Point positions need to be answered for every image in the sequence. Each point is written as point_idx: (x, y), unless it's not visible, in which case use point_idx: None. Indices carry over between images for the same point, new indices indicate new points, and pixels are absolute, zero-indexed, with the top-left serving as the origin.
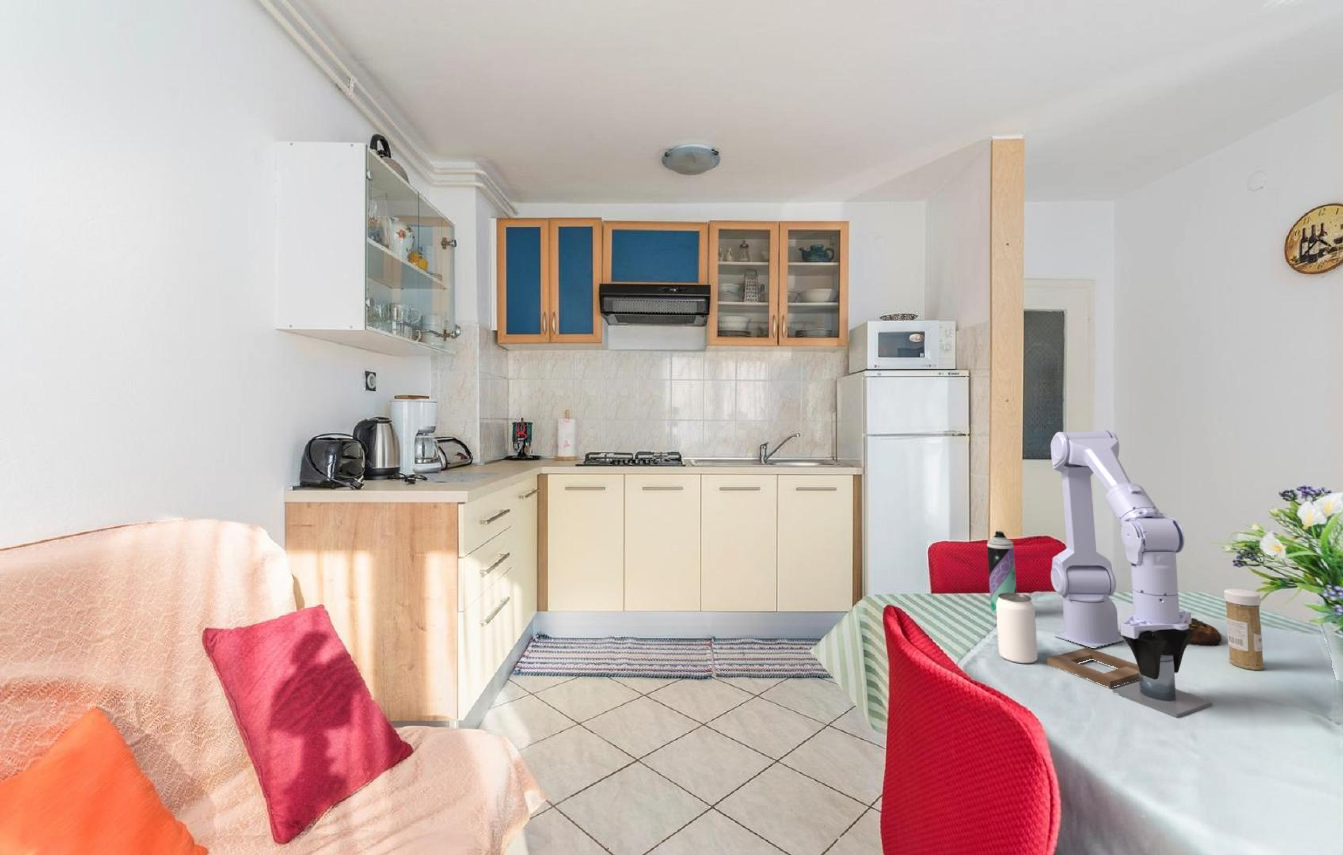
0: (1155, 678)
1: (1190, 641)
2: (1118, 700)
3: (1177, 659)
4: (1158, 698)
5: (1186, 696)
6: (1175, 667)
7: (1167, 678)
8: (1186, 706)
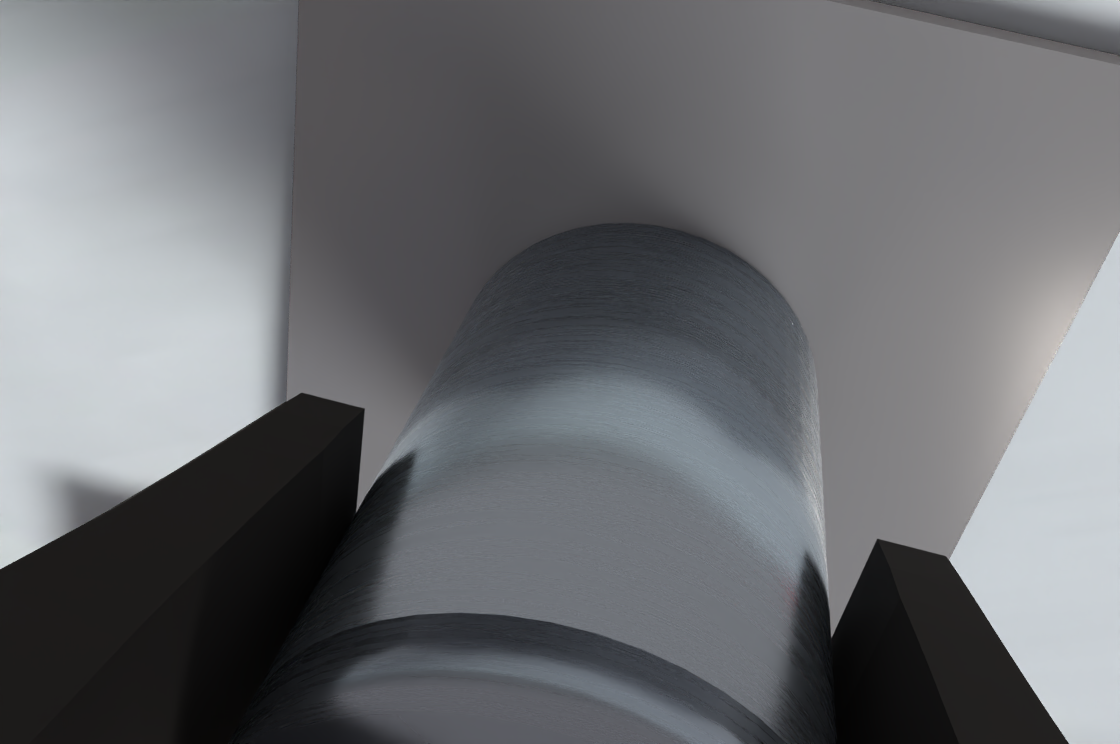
0: (950, 566)
1: None
2: (1063, 603)
3: (241, 553)
4: (811, 357)
5: (412, 159)
6: (321, 467)
7: (728, 444)
8: (772, 69)
